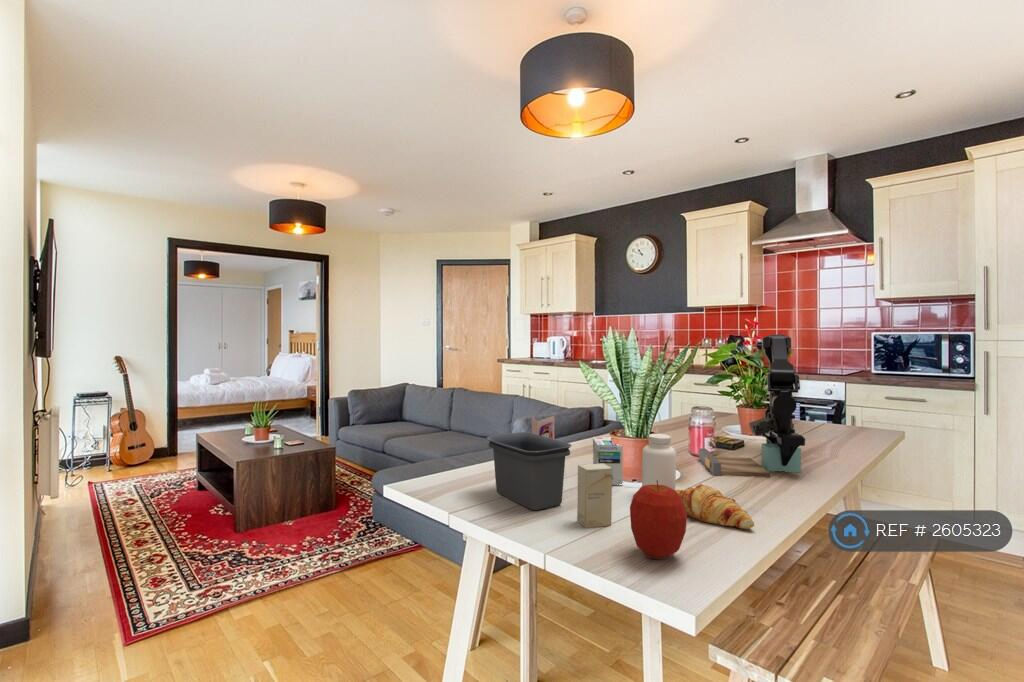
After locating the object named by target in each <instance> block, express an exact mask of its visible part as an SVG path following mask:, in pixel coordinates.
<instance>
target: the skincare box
mask: <svg viewBox="0 0 1024 682" xmlns="http://www.w3.org/2000/svg"><path fill="white" fill-rule="evenodd" d="M612 490H613V485H612V468H611V467H609V466H608V465H606V464H604V463H600V464H593V463H588V464H578V465H577V504H576V505H577V510H576V511H577V513H576V514H577V516H576V518H577V519H576V520H577V522H578V523H579V524H580V525H581V526H583V527H584V528H587V529H588V528H598V527H609V526H612V512H613V511H612V509H613V508H612V506H613V505H612V501H613V498H612V497H613V492H612Z"/></svg>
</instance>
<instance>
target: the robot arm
mask: <svg viewBox="0 0 1024 682" xmlns="http://www.w3.org/2000/svg"><path fill="white" fill-rule="evenodd" d="M761 350H763V355H764V358H765V359H766V360H767V362H768V363H769V366H768V367H769V369H768V370H767V372H766V385H767V386H766V387H767V392H769V406H768V408H767V409H766V410H765V413H764V417H762V418H760V419H757V420H754V421H750V422H749V423H748V426H749V428H750V430H751V433H752V434H753V435H755V436H762V437H764V438H765V439H766V440H765V441H766V442H765V444H776V445H777V446H779V448H780V454H781V461H782V465H783V466H787V464H788V462H789V461H790V459H791V457H792V456H793V454H794V452H795V451H796V449H797V448H798V447H804V446H806V438H805V437H804V436H803V435H801V434H799V433H798V432H796V430H795V428H794V427H795V424H794V422H793V420H795V419H796V415H795V414H794V412H795V411H796V409H797V402H796V399H794V398H793V394H795V393H796V394H797V393H799V391H800V390H801V383H800V376H799V374H798V372H797V371H795V366H794V364H792V363H791V362H789V358H788V355H789V351H791V350H792V338H791V337H789V336H788V335H785V334H771V335H769V336H767V335H766V336H765V337H763V338H762V342H761Z"/></svg>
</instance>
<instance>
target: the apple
mask: <svg viewBox="0 0 1024 682" xmlns="http://www.w3.org/2000/svg"><path fill="white" fill-rule="evenodd" d="M629 514H630V528H631V533H632V535H633V538H634V541H635V543H636V547H637V548H638V549H639V550H640V551H641V552H642V553H643V554H644V555H645V556H646V557H647V558H650V559H653V560H663V559H667V558H669V557H671V556H672V555H674V554H675V553H677V552H678V551H679V550H680V548H681V546H682V543H683V540H684V537H685V534H686V532H687V523H688V522H687V521H688V520H687V519H688V515H687V512H686V509H685V506H684V504H683V501H682V498H681V497H680V496H679V495H678V493H677V492H676V489H675V490H674V489H672V488H669V487H667V486H664V485H658V480H657V485H645V486H642V485H641V487H640V488H639V489H638V490H637V491H636V492H635V493H634V494H633V496H632V499H631V503H630V505H629Z"/></svg>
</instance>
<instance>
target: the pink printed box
mask: <svg viewBox="0 0 1024 682" xmlns="http://www.w3.org/2000/svg"><path fill="white" fill-rule="evenodd" d="M531 433H534V434H537V435H541V436H545V437H548V438H552V439H555V415H551V416H549V417H546V418H544V419H540V420H538V421H537V420H536V418H535V417H534V415H532V414H531Z"/></svg>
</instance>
